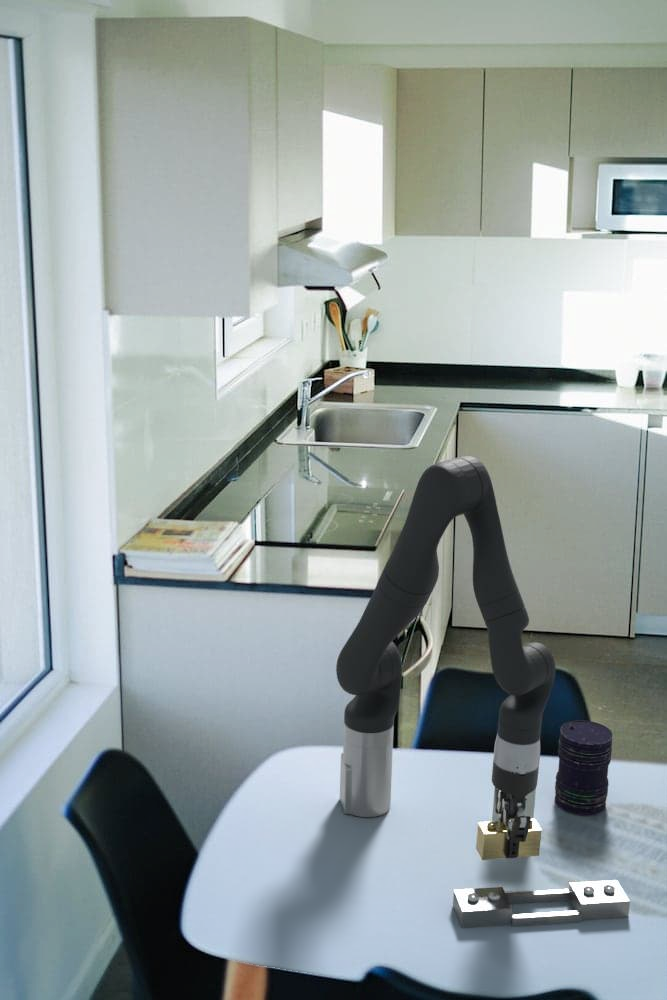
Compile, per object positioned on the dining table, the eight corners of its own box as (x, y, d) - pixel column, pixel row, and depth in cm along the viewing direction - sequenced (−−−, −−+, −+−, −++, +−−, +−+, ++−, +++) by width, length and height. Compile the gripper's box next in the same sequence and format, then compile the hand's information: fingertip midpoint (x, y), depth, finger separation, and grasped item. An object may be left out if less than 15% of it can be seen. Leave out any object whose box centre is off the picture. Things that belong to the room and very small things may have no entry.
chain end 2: (546, 924, 201) (548, 904, 200) (534, 898, 208) (535, 879, 207) (629, 918, 203) (631, 899, 202) (614, 893, 210) (616, 875, 209)
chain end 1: (462, 929, 199) (463, 910, 198) (452, 903, 206) (453, 884, 205) (546, 924, 201) (548, 904, 200) (534, 898, 208) (535, 879, 207)
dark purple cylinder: (614, 799, 240) (621, 729, 235) (595, 822, 232) (602, 749, 227) (565, 784, 245) (571, 715, 240) (545, 806, 237) (551, 734, 232)
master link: (482, 860, 209) (484, 830, 207) (476, 848, 212) (478, 819, 210) (538, 855, 211) (541, 826, 209) (531, 844, 214) (534, 815, 212)
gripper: (483, 739, 212) (475, 827, 217) (506, 782, 199) (497, 875, 204) (526, 738, 213) (517, 826, 218) (551, 780, 200) (541, 873, 205)
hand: (507, 849), depth 211 cm, fingers closed on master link, 3 cm apart
